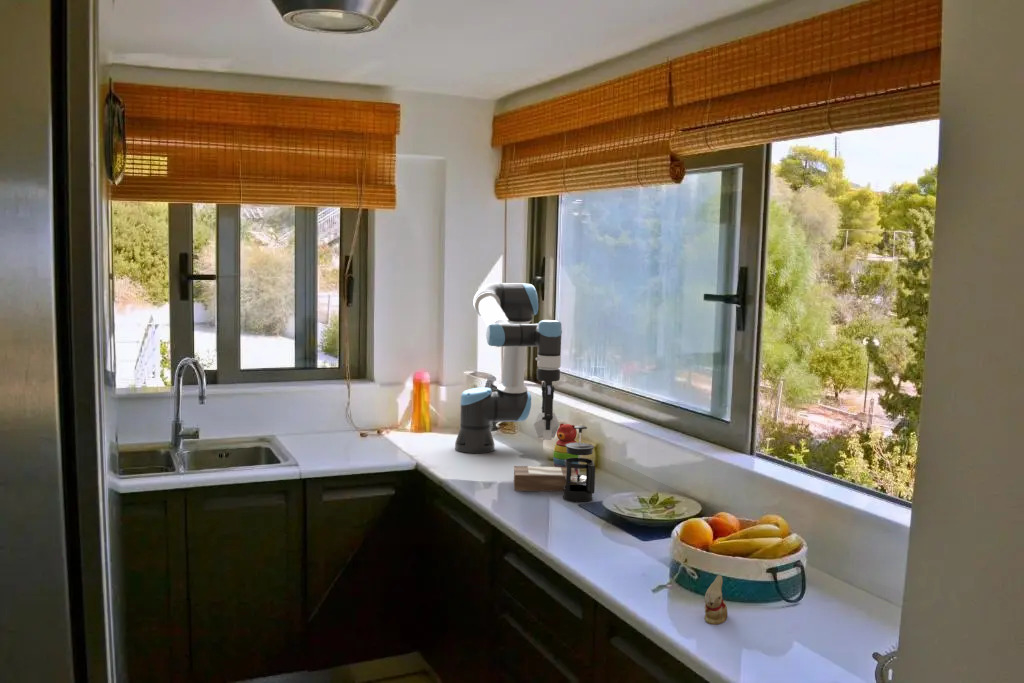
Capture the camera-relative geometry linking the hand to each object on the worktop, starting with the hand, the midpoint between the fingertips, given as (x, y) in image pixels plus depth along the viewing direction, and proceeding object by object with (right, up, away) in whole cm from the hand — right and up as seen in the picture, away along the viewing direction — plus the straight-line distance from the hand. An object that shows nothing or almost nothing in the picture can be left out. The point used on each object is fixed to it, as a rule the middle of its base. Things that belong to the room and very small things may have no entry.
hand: (546, 436), depth 295 cm
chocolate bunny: (+33, -29, -101) cm, 110 cm away
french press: (+10, -19, -12) cm, 24 cm away
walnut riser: (0, -17, +2) cm, 17 cm away
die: (0, 0, 0) cm, 0 cm away
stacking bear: (+7, -15, +17) cm, 24 cm away
